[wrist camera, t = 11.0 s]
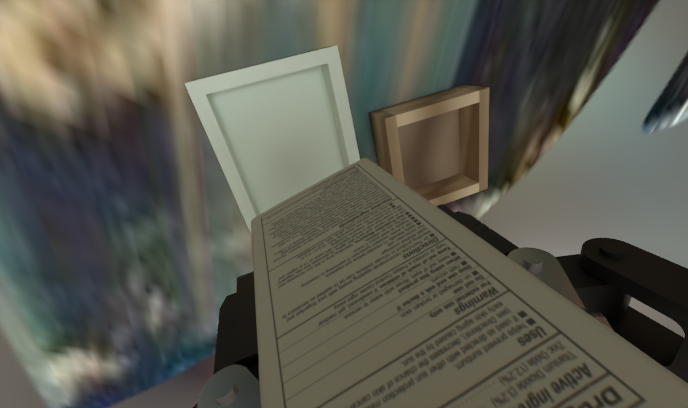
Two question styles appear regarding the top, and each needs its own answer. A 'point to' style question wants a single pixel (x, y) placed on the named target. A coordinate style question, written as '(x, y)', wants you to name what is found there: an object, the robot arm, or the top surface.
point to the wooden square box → (436, 142)
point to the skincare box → (422, 313)
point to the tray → (277, 126)
